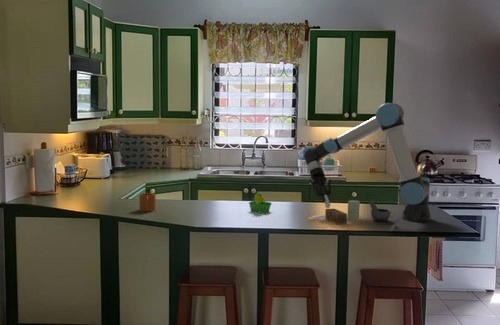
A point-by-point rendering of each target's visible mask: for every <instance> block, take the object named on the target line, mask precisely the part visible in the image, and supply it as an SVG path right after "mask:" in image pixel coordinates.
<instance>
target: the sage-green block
mask: <svg viewBox="0 0 500 325" xmlns="http://www.w3.org/2000/svg"><path fill="white" fill-rule="evenodd" d="M360 202H361V201H360V200H354V199H353V200H352V199H350V200H348V201H347V221H355V222H356V223H358V222H359V221H358V220H360V204H361V203H360ZM357 221H358V222H357Z"/></svg>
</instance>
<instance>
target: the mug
mask: <svg viewBox="0 0 500 325" xmlns="http://www.w3.org/2000/svg"><path fill="white" fill-rule="evenodd" d="M138 199H139V201H138V202H139V203H138V204H139V206H138V208H139V212H148V213H149V212H154V211H156V194H155V193H151V192H146V193H144V192H143V193H140V194H139V196H138Z"/></svg>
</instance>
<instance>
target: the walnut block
mask: <svg viewBox="0 0 500 325" xmlns="http://www.w3.org/2000/svg"><path fill="white" fill-rule="evenodd" d="M324 215H325V218H326V219H328V220H330V221H332V222H331V223H334V224H336V225H348V224H347V218H348V213H346V212H344V211H342V210H338V209H336V208H325V212H324Z"/></svg>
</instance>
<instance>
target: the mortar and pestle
mask: <svg viewBox="0 0 500 325" xmlns="http://www.w3.org/2000/svg"><path fill="white" fill-rule="evenodd" d="M368 204H369V205H370V208H371V209H370V215H371V218H372V219H373V221H375V222H379V223H380V222H381V223H385V222H387V221H388V220H389V218H390V216H391V214H392V213H391V212H392V211H391V210H389V209H387V208H378V207H377V205H376V203H375V200H374V199H372V200H370V201H369V202H368Z"/></svg>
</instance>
